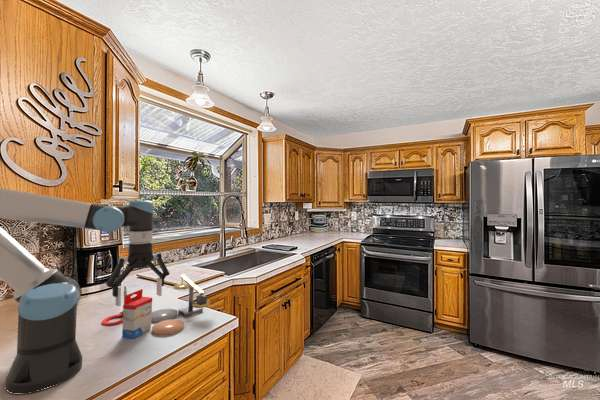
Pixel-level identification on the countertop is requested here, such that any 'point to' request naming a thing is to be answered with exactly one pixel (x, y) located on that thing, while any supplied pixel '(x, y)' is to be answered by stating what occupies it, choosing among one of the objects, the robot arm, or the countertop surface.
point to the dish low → (168, 327)
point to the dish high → (163, 315)
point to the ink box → (136, 314)
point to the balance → (200, 299)
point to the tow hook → (114, 315)
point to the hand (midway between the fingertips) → (139, 299)
